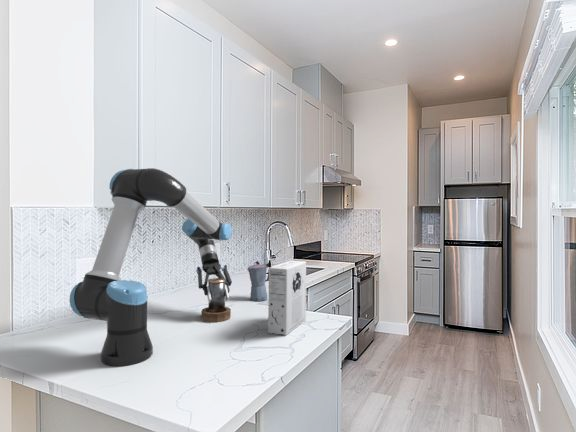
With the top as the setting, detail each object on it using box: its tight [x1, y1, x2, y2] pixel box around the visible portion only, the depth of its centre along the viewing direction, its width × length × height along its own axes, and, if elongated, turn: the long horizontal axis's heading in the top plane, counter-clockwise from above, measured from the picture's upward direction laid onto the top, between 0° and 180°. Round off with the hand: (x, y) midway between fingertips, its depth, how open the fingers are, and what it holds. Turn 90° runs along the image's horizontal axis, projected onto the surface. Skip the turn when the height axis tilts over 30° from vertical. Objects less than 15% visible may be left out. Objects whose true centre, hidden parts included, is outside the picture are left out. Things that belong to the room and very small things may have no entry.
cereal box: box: [267, 260, 307, 336], centre depth 150 cm, size 22×8×25 cm, turn 157°
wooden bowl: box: [200, 306, 232, 323], centre depth 160 cm, size 12×12×4 cm
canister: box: [207, 277, 226, 310], centre depth 160 cm, size 7×7×12 cm
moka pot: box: [246, 260, 272, 302], centre depth 193 cm, size 10×15×20 cm, turn 137°
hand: (219, 300), depth 157 cm, fingers closed on canister, 7 cm apart
